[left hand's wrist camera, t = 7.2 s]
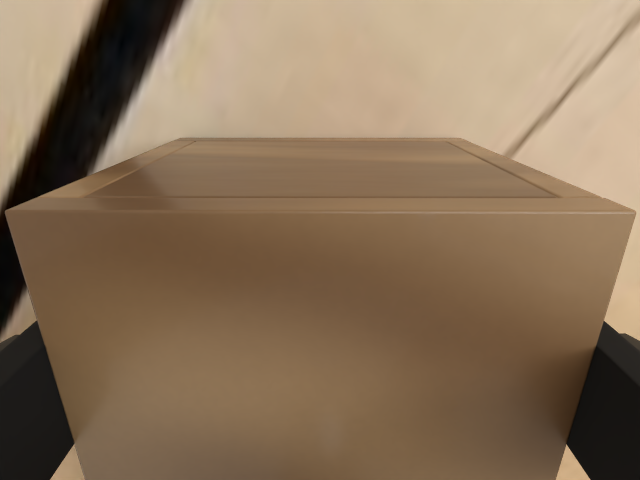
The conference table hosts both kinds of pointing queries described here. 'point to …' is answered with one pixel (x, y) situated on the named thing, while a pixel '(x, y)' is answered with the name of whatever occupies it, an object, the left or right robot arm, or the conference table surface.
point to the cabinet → (320, 309)
